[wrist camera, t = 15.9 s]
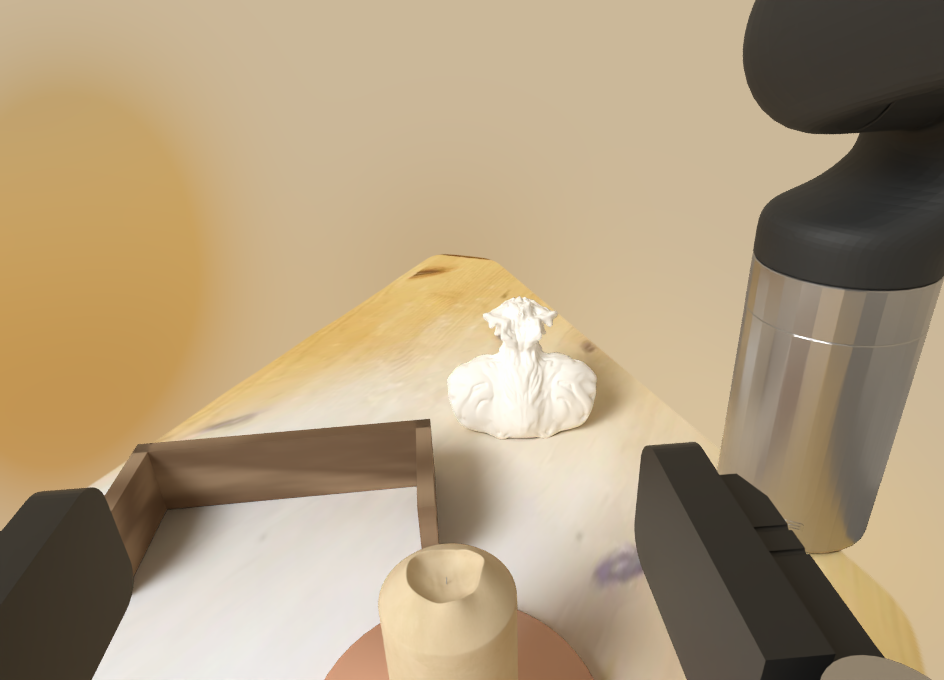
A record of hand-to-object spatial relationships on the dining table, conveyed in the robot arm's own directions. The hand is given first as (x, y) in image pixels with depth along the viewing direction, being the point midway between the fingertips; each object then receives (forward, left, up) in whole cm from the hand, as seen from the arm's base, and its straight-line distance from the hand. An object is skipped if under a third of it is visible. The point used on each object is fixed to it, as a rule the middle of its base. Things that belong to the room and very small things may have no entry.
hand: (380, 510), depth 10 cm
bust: (-29, -23, -24) cm, 44 cm away
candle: (-7, -8, -23) cm, 25 cm away
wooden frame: (-9, -26, -23) cm, 36 cm away
